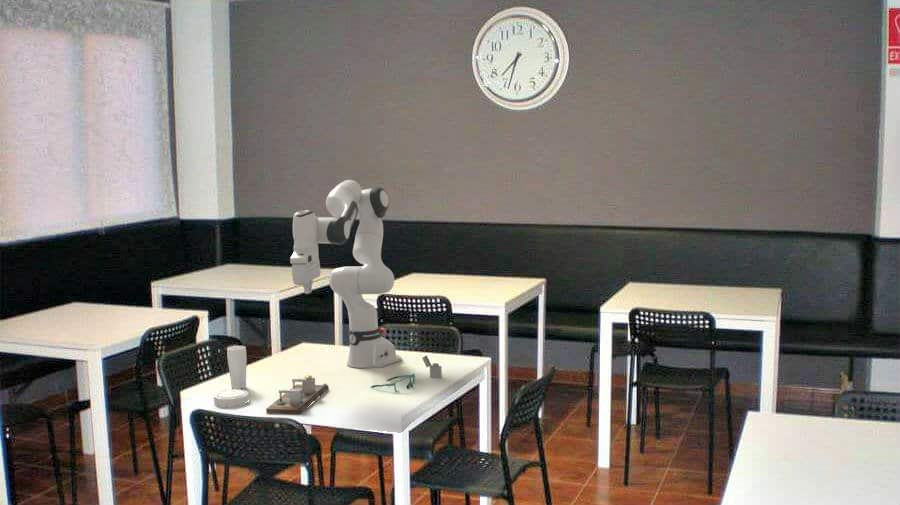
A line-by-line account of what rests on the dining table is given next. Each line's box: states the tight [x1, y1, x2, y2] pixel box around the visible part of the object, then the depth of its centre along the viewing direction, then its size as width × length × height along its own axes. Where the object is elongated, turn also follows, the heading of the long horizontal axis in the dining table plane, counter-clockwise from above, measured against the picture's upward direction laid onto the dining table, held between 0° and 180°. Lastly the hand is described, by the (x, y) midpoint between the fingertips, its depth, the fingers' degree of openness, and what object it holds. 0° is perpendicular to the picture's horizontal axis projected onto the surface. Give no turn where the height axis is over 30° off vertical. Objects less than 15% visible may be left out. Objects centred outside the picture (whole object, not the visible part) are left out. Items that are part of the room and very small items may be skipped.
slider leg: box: [291, 375, 316, 394], centre depth 347 cm, size 3×8×6 cm, turn 79°
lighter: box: [421, 355, 443, 379], centre depth 369 cm, size 7×2×8 cm, turn 69°
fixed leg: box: [278, 383, 328, 409], centre depth 343 cm, size 28×9×5 cm, turn 169°
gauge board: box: [265, 383, 329, 415], centre depth 344 cm, size 30×12×2 cm, turn 169°
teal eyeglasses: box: [370, 373, 416, 393], centre depth 359 cm, size 14×15×5 cm
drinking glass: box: [226, 345, 248, 389], centre depth 362 cm, size 7×7×15 cm
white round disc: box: [213, 388, 250, 408], centre depth 345 cm, size 12×12×4 cm
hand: (308, 293), depth 360 cm, fingers closed
